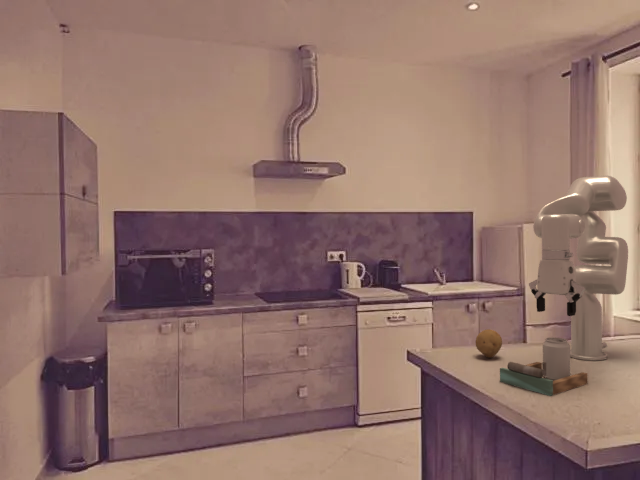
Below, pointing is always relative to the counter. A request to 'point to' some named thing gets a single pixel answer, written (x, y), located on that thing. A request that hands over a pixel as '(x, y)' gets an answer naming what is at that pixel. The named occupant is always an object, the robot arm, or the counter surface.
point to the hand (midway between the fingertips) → (555, 313)
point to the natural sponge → (488, 342)
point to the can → (556, 358)
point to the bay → (539, 378)
